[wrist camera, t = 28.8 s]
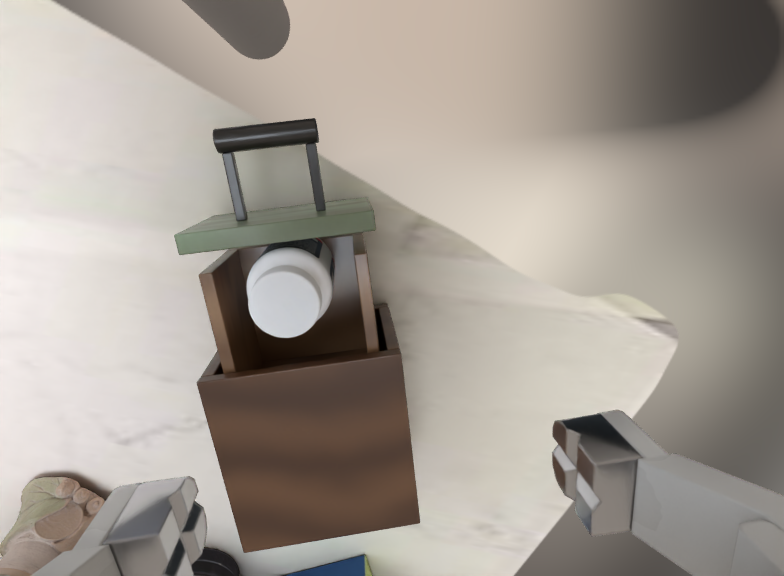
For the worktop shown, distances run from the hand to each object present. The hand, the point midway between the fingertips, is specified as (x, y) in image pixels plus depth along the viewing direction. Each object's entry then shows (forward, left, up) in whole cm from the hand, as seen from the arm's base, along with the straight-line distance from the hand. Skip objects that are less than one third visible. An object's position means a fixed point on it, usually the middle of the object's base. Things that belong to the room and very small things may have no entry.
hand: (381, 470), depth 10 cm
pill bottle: (+1, -4, -24) cm, 25 cm away
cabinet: (+12, -4, -26) cm, 29 cm away
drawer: (0, -4, -25) cm, 26 cm away
